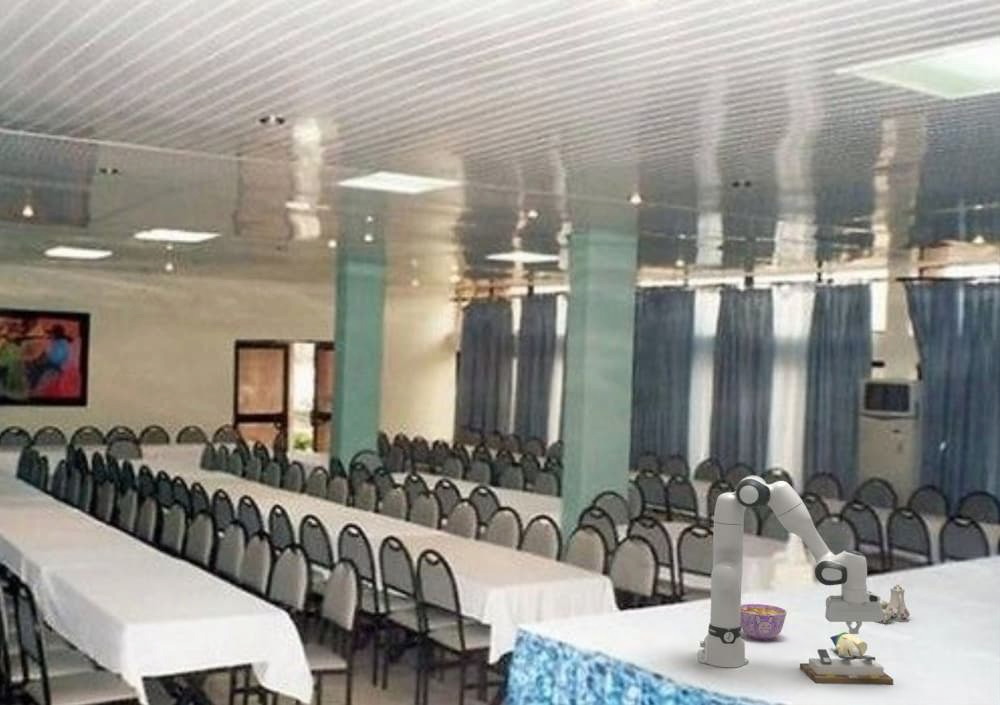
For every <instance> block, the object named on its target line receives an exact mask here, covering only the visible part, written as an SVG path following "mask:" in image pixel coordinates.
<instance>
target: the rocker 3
mask: <svg viewBox="0 0 1000 705" xmlns="http://www.w3.org/2000/svg"><path fill="white" fill-rule="evenodd" d="M859 658H860V659H865V660H874V661H876V656H873V655H867V654H863V655H860V656H859Z"/></svg>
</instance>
